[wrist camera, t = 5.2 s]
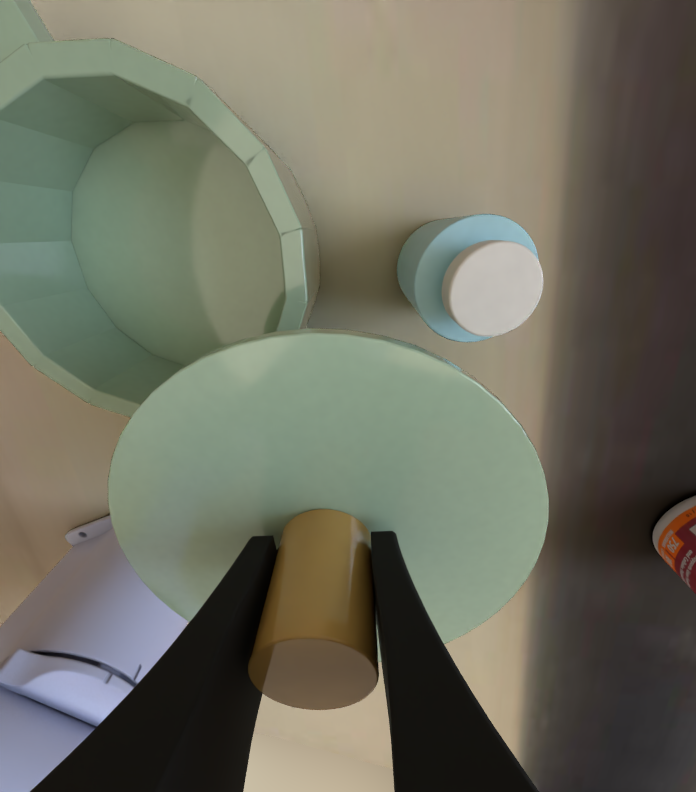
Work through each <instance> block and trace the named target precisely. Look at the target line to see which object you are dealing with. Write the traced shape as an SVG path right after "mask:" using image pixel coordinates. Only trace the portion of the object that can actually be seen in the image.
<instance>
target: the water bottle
mask: <svg viewBox="0 0 696 792" xmlns="http://www.w3.org/2000/svg"><path fill="white" fill-rule="evenodd" d="M397 276H398V281H399V285H400V287H401V289H402V291H403V293H404V294H405V296H406V297H407V299H408V300H409V301H410V303H411V304H412V305H413V307H414V308H415V309H416V311H417V312H418V314H419V315H420V316H421V318H422V319H423V320H424V322H425V323H426V324H427V325H428V326H429V327H430V328H431V329H432V330H433V331H434V332H436V333H437V334H439V335H440V336H442V337H444V338H446V339H450V340H453V341H458V342H477V341H481V340H485V339H488V338H491V337H493V336H497V335H501V334H504V333H507V332H509V331H511V330H513V329H515V328H517V327H518V326H519V325H521V324H522V323H523V322H524V321H525V320H526V319H527V318H528V317H529V316H530V315H531V314H532V312H533V311H534V309H535V308H536V306H537V304H538V302H539V299H540V297H541V293H542V288H543V273H542V269H541V265H540V263H539V260H538V254H537V251H536V248H535V245H534V243H533V241H532V239H531V238H530V236H529V235H528V233H527V232H526V231H525V230H524V229H523V228H522V227H521V226H520V225H518V224H517V223H516V222H514V221H512V220H510V219H509V218H506V217H503V216H500V215H494V214H478V215H470V216H463V217H456V218H449V219H442V220H436V221H432V222H429V223H427V224H425V225H423V226H421V227H420V228H418V229H417V230H416V231H415V232H414V233H412V234H411V235H410V237H409V238H408V239H407V240H406V242H405V244H404V245H403V247H402V249H401V252H400V254H399V258H398V263H397Z"/></svg>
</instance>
